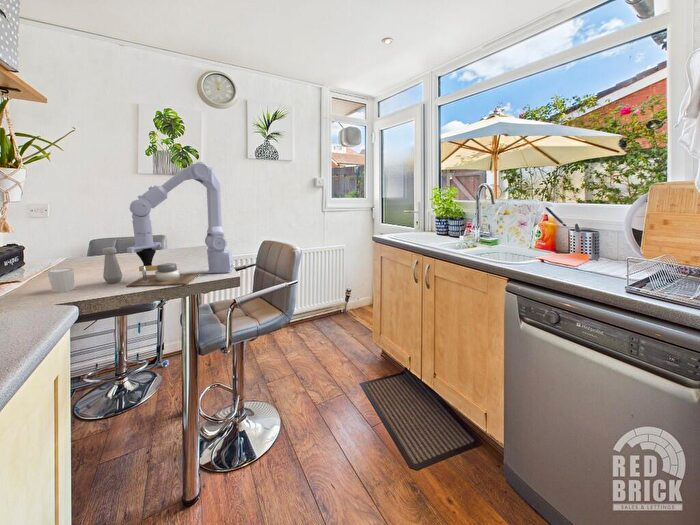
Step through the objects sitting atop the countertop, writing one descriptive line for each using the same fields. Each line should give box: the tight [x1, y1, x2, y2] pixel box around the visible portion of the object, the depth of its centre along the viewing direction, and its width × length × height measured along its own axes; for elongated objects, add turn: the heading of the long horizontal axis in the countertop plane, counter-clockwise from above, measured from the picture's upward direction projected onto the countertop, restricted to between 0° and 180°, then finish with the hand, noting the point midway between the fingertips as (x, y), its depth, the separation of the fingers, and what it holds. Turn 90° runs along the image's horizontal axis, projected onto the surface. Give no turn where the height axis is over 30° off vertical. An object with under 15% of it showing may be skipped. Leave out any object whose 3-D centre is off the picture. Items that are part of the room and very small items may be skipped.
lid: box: [138, 262, 178, 272], centre depth 124 cm, size 12×6×2 cm, turn 106°
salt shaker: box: [101, 246, 123, 284], centre depth 122 cm, size 6×6×13 cm
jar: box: [154, 268, 181, 281], centre depth 126 cm, size 8×8×3 cm
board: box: [125, 272, 201, 288], centre depth 126 cm, size 20×16×1 cm
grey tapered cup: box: [46, 267, 76, 293], centre depth 113 cm, size 7×7×7 cm
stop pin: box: [140, 265, 150, 283], centre depth 121 cm, size 3×3×6 cm
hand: (148, 269), depth 125 cm, fingers closed, pressing on lid
